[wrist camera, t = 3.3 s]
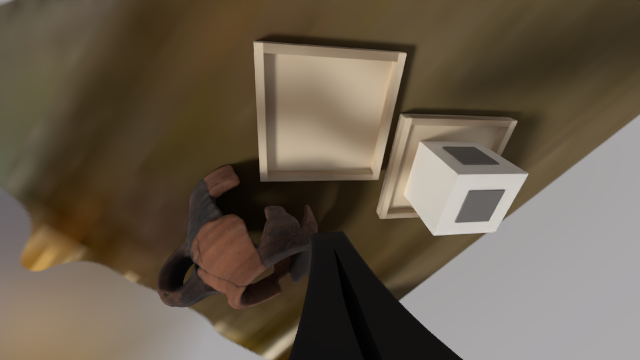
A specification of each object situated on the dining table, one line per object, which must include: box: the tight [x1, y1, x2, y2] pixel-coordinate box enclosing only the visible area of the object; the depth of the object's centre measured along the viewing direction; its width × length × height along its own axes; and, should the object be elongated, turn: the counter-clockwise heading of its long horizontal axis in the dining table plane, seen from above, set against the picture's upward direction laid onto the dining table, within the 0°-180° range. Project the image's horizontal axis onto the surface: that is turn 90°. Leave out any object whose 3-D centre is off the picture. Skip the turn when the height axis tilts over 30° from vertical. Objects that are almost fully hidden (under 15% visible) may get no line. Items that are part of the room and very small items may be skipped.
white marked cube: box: [404, 141, 528, 235], centre depth 20 cm, size 5×5×5 cm
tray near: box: [254, 41, 407, 182], centre depth 18 cm, size 9×9×1 cm
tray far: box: [376, 114, 518, 219], centre depth 22 cm, size 9×9×1 cm
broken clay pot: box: [157, 165, 318, 309], centre depth 20 cm, size 12×10×8 cm
